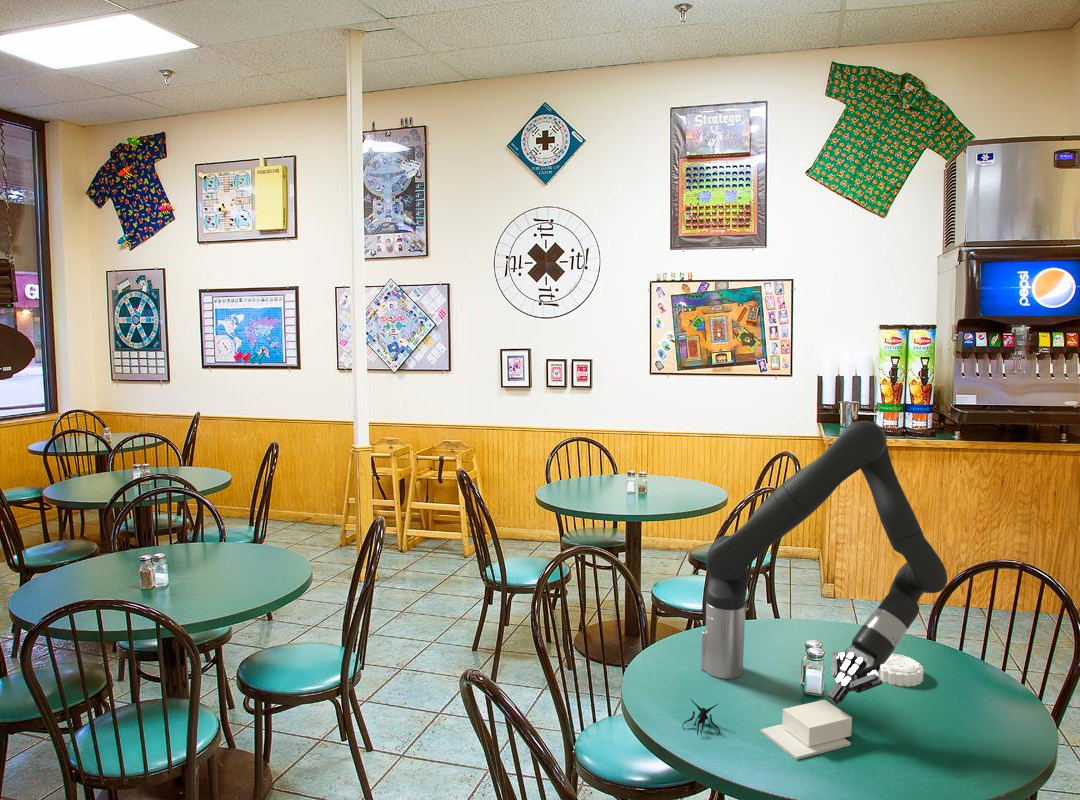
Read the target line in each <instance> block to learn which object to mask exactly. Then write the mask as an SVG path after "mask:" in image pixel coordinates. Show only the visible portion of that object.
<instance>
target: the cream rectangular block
mask: <svg viewBox="0 0 1080 800" xmlns="http://www.w3.org/2000/svg"><path fill="white" fill-rule="evenodd" d="M852 722H853V717H852V716H850V715H849V714H847V713H845V712H844V711H843V710H841V709H840V708H838V707H837V706H835V705H834V704H832V703H830V702H829V701H828V700H826V699H820V700H816V701H812V702H808V703H803V704H799V705H795V706H791V707H787V708H783V709H782V723H781V724H782V727H783V728H784V729H785V730H787V731H788V732H789V733H791V734H792V735H793V736H795V737H796V738H797V739H799V740H800V741H801V742H803V743H804V744H805V745H807V746H808V747H810V746H814V745H818V744H822V743H826V742H829V741H833V740H837V739H841V738H845V739H846V738H848V737H851V736H852V726H853V725H852V724H853V723H852Z"/></svg>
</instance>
